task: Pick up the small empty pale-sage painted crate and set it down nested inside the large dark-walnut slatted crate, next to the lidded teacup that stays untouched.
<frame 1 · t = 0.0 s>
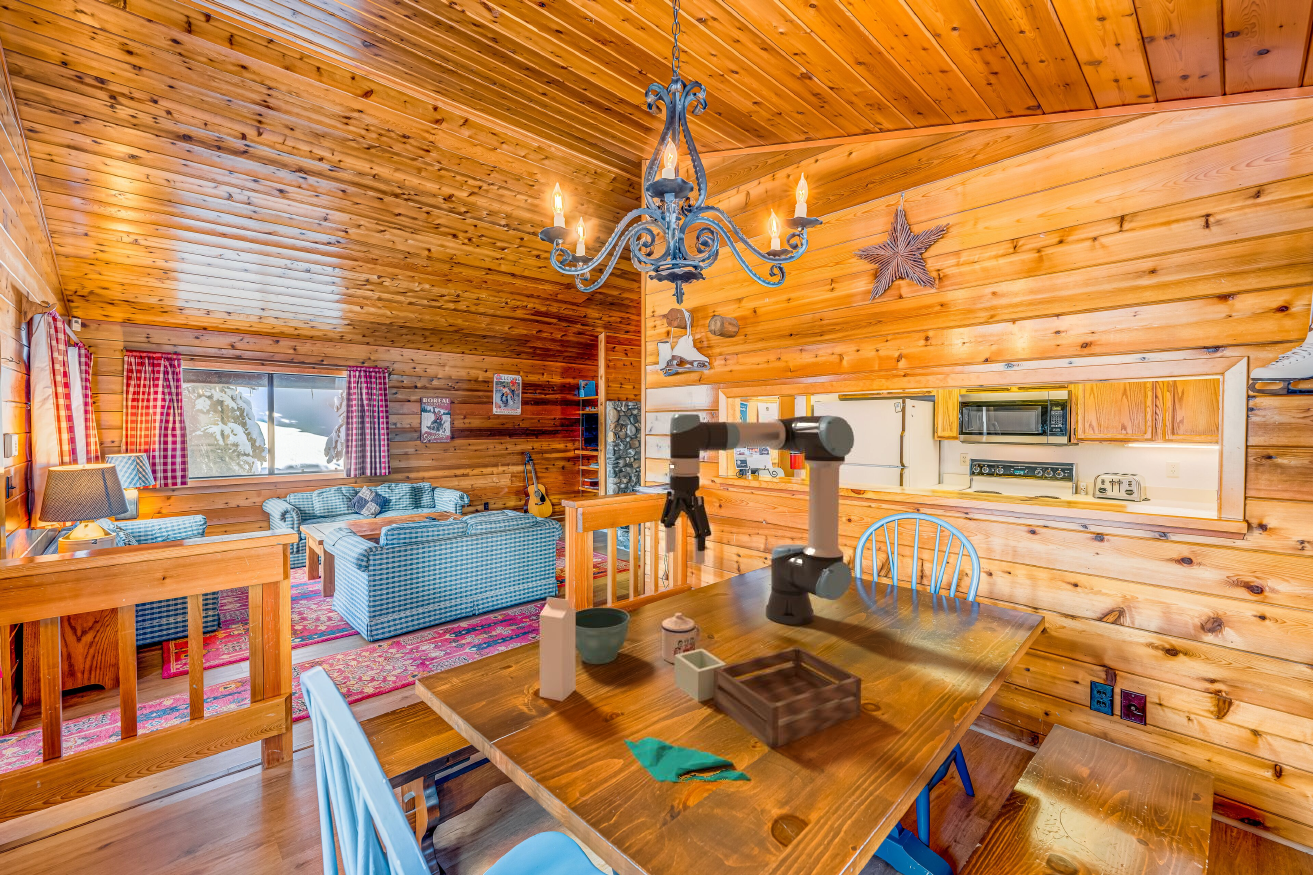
hand: (684, 557, 138), 28 cm above the table, fingers open, 13 cm apart
small crate: (699, 688, 127), on the table
milk: (557, 693, 125), on the table
crate: (785, 709, 118), on the table
cloth: (679, 766, 100), on the table
teacup with lid: (682, 656, 145), on the table
flower pot: (598, 657, 144), on the table
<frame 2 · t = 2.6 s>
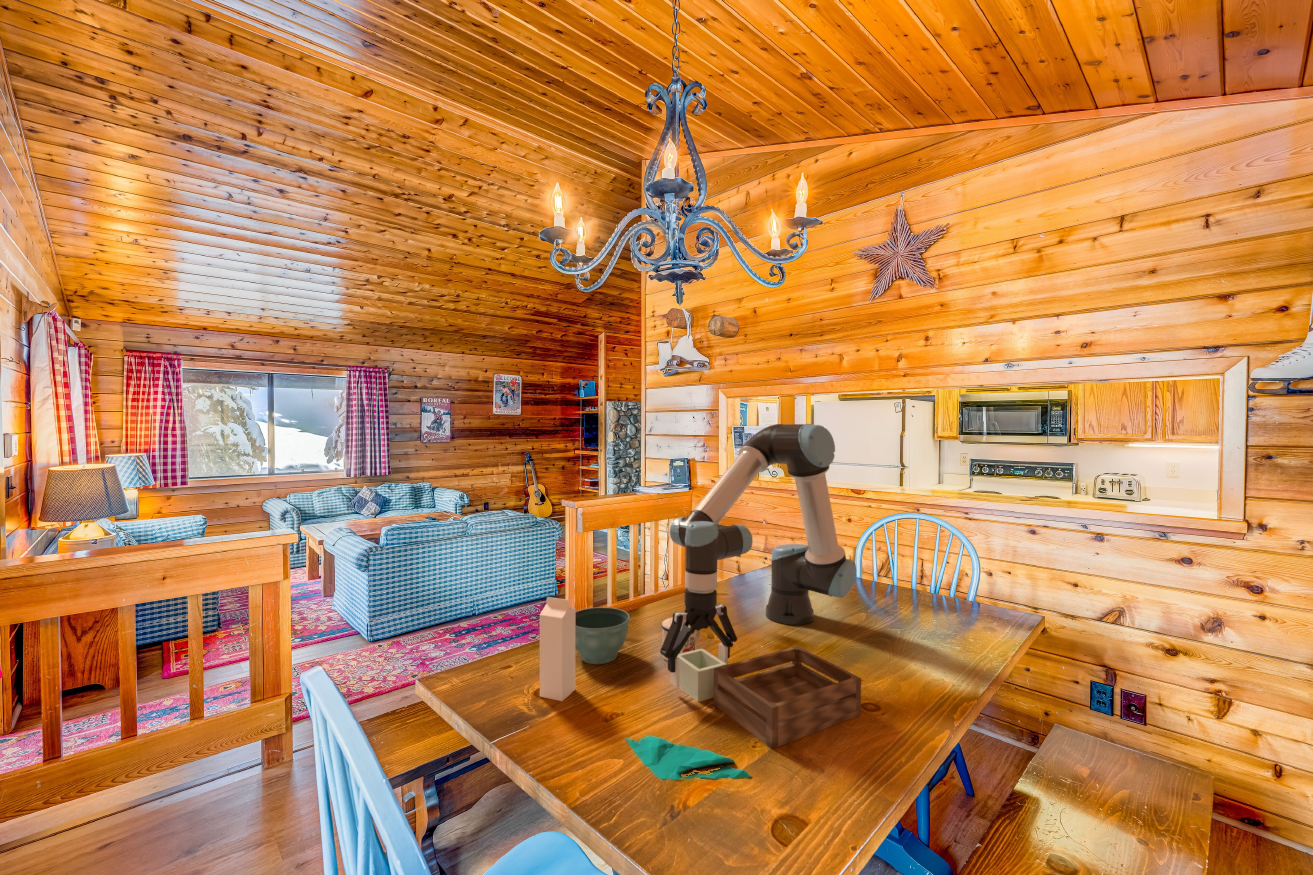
hand: (699, 678, 127), 2 cm above the table, fingers open, 13 cm apart
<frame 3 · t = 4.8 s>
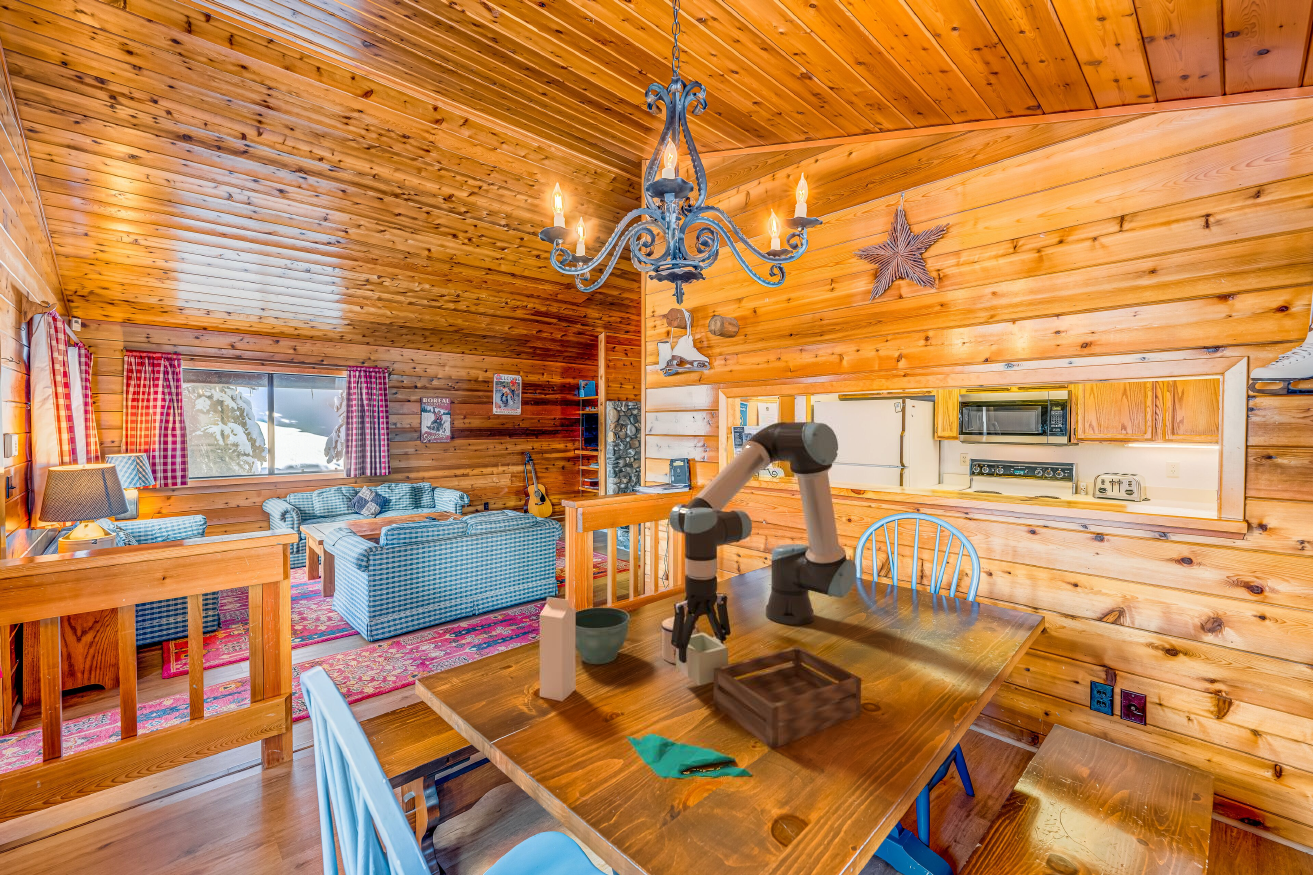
hand: (701, 670, 128), 4 cm above the table, fingers closed on small crate, 8 cm apart
small crate: (701, 672, 128), point 4 cm above the table, touching gripper
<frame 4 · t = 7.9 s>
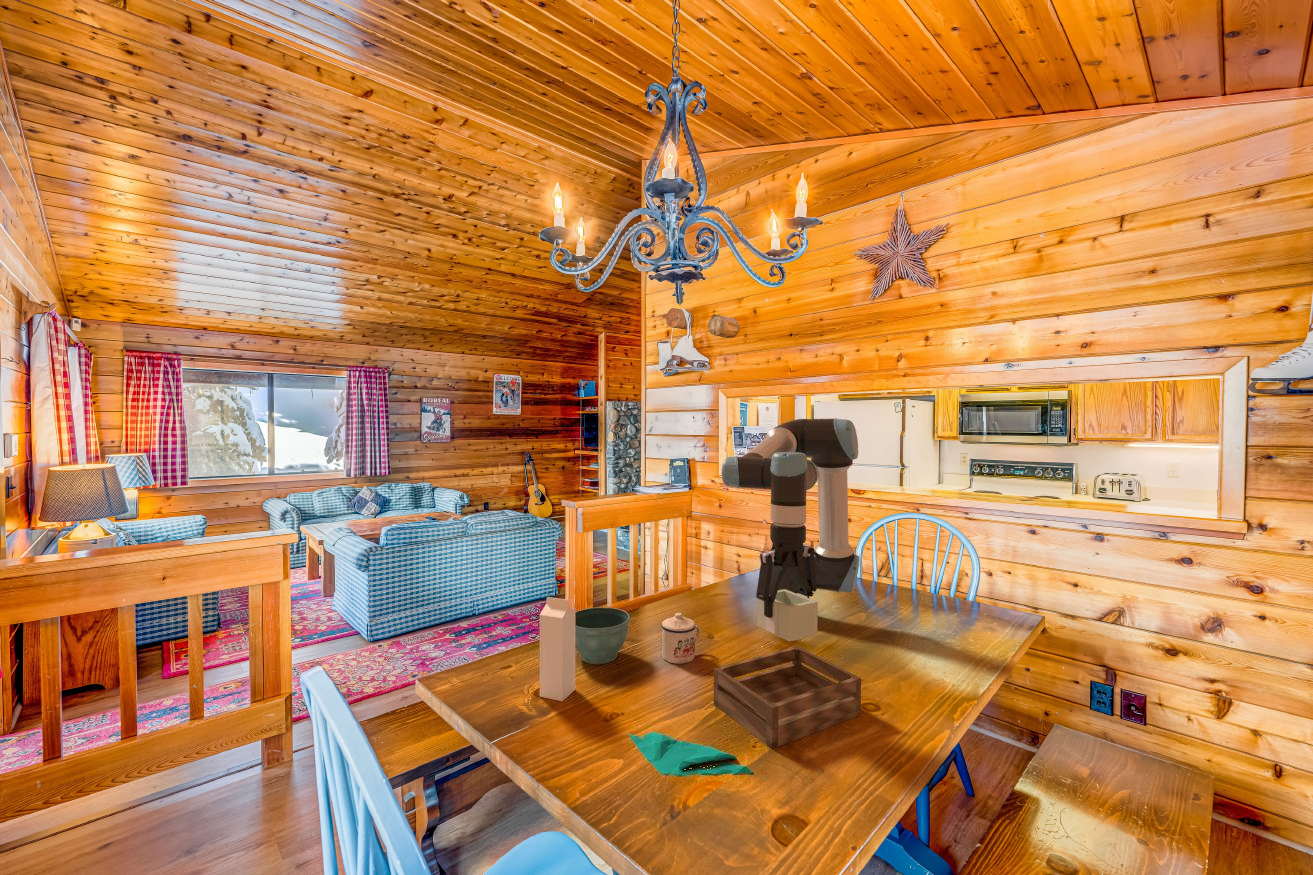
hand: (786, 627, 118), 18 cm above the table, fingers closed on small crate, 8 cm apart
small crate: (786, 629, 118), point 18 cm above the table, touching gripper
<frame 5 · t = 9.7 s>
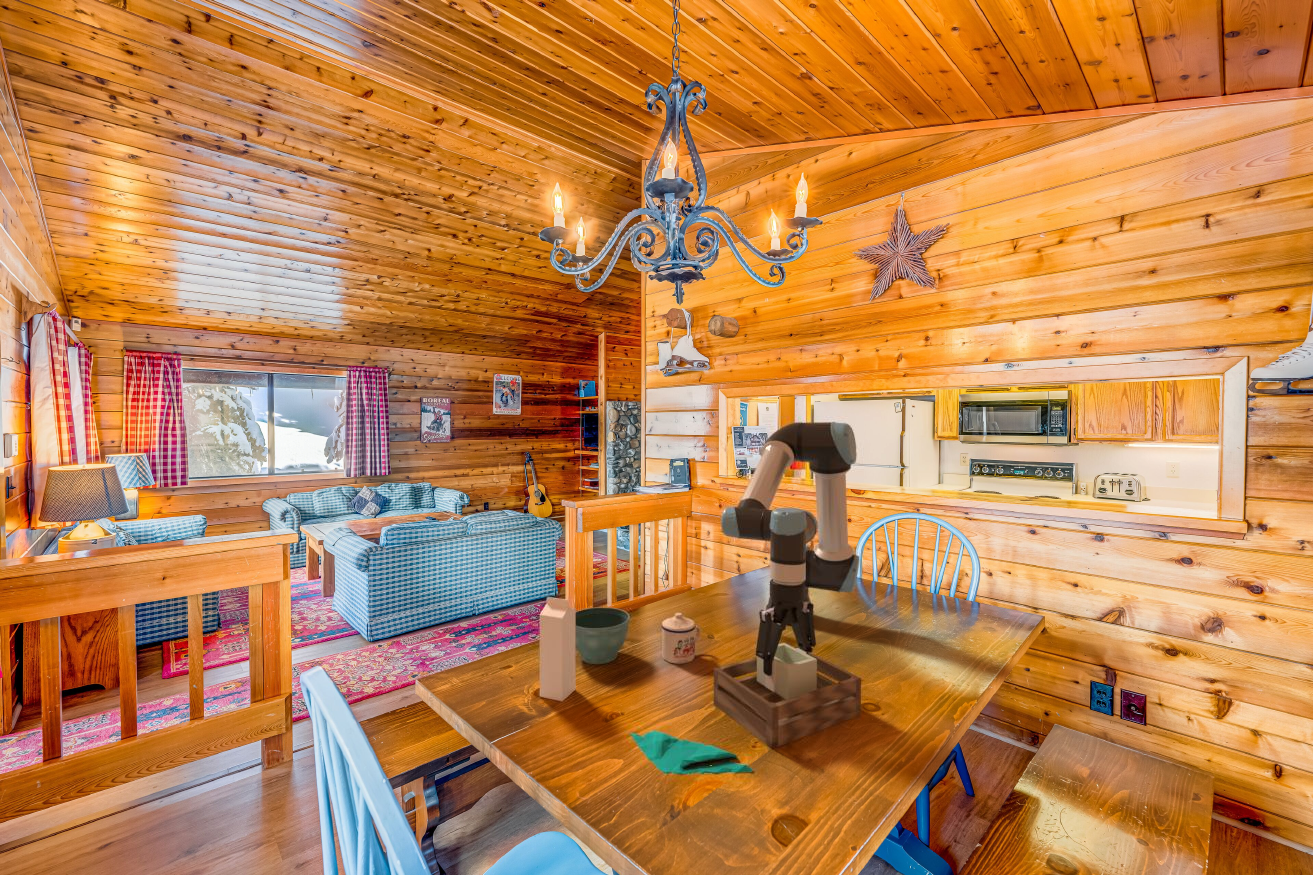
hand: (786, 683, 118), 6 cm above the table, fingers closed on small crate, 8 cm apart
small crate: (785, 686, 118), point 5 cm above the table, touching gripper
when the fingers open (2 cm above the table, at t = 11.4 s): small crate stays where it is, resting on crate.
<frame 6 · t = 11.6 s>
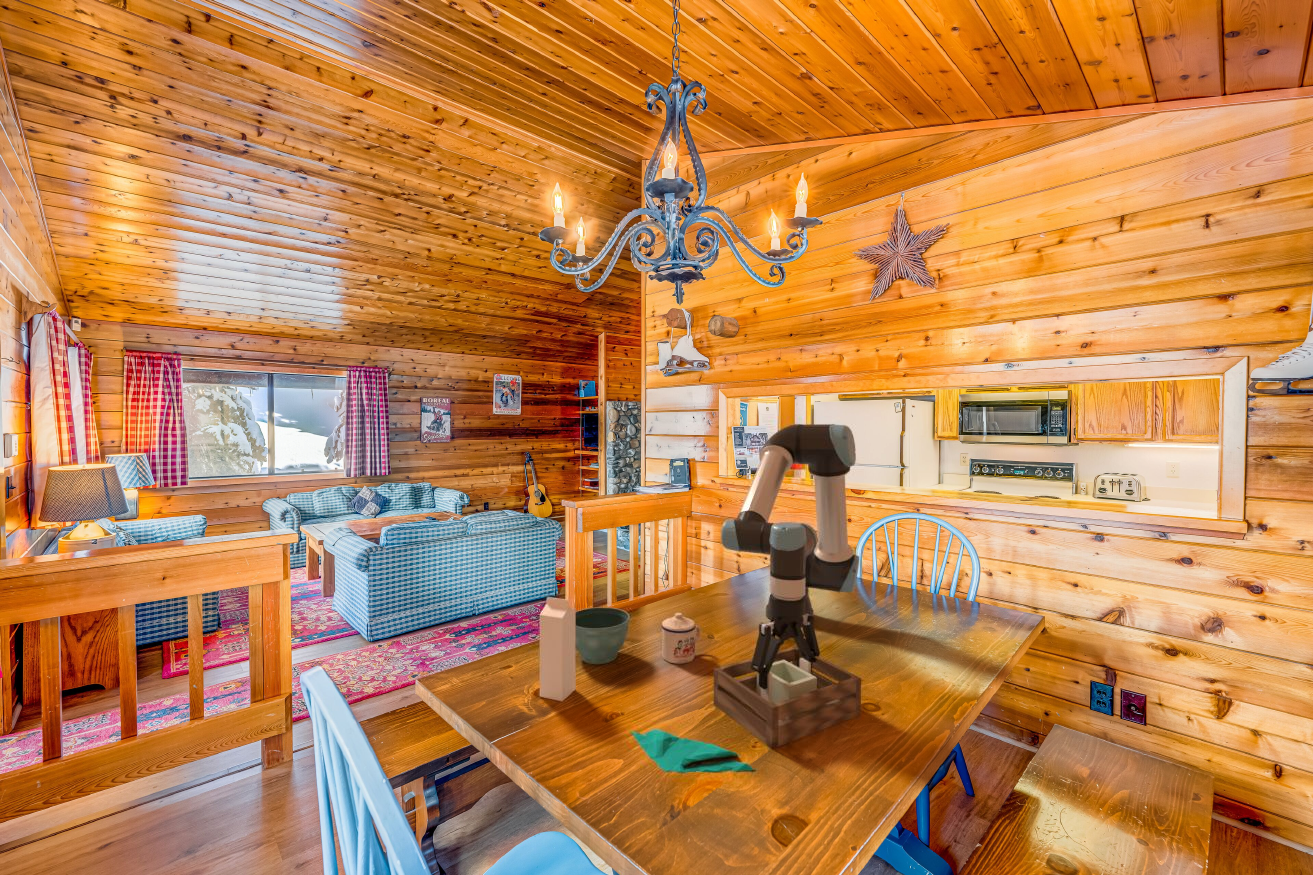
hand: (785, 695, 118), 3 cm above the table, fingers open, 10 cm apart
small crate: (785, 703, 118), point 1 cm above the table, touching crate
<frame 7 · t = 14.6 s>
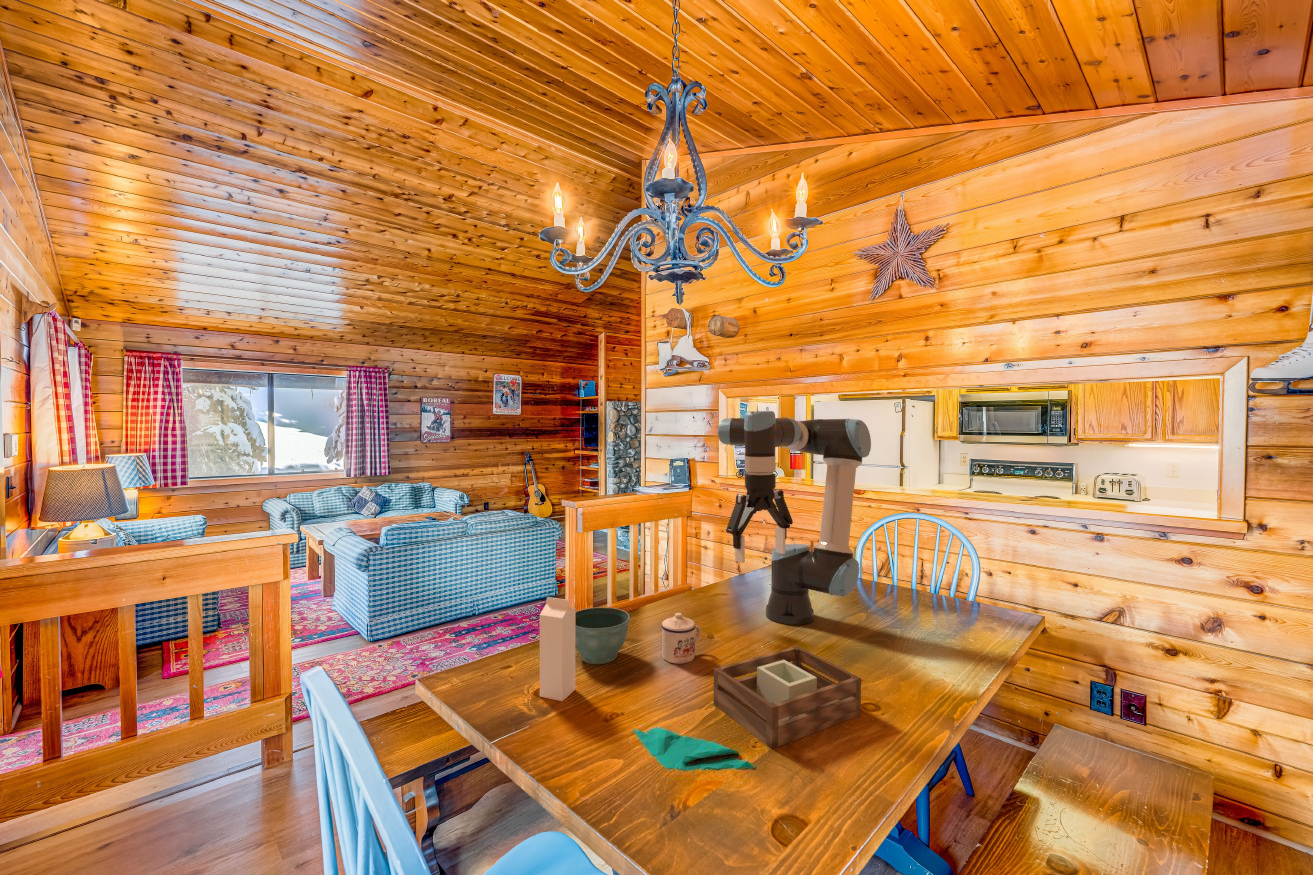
hand: (760, 557, 136), 29 cm above the table, fingers open, 13 cm apart
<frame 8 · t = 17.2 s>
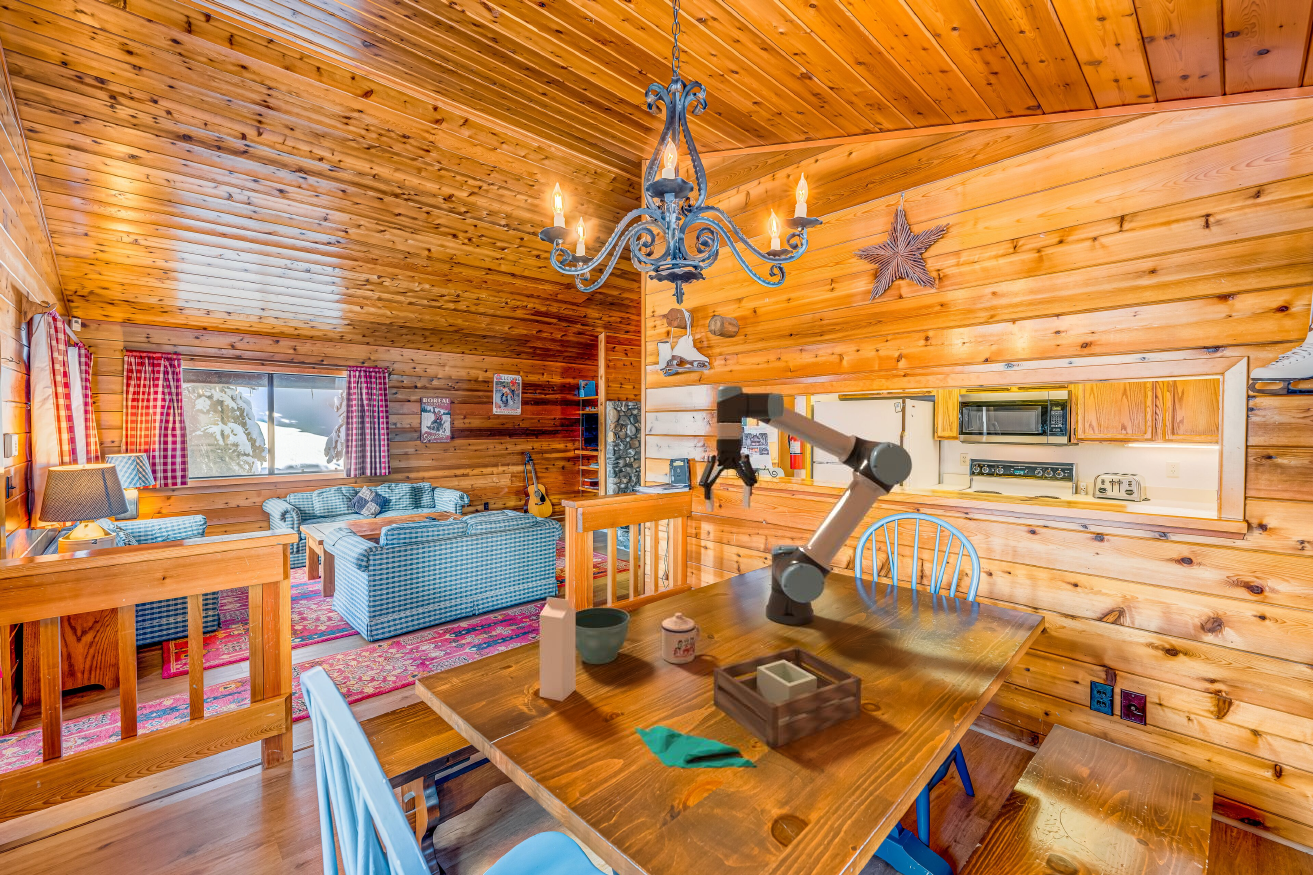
hand: (728, 509, 162), 37 cm above the table, fingers open, 13 cm apart
at the end: small crate inside the target area on the crate (0.0 cm from its centre), point 1.2 cm above the crate's base; small crate tilted 0°; the gripper is holding nothing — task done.
